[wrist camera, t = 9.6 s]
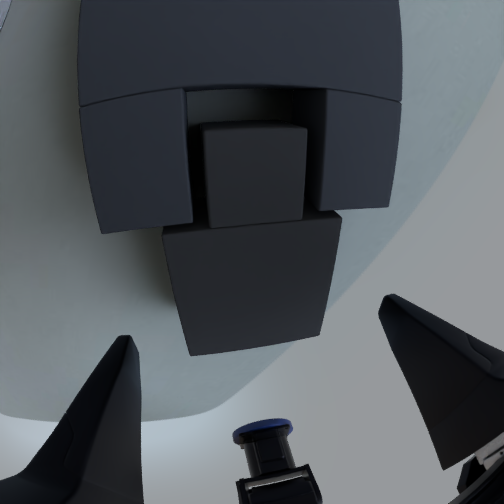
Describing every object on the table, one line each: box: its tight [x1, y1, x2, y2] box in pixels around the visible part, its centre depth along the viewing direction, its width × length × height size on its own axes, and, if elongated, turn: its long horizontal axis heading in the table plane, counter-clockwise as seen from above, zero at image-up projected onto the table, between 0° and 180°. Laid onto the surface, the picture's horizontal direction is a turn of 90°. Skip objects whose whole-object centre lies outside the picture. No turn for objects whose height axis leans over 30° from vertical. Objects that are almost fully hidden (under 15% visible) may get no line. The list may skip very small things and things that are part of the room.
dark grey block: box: [77, 0, 402, 234], centre depth 7 cm, size 12×10×3 cm
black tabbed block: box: [162, 120, 342, 356], centre depth 11 cm, size 6×9×3 cm, turn 0°
